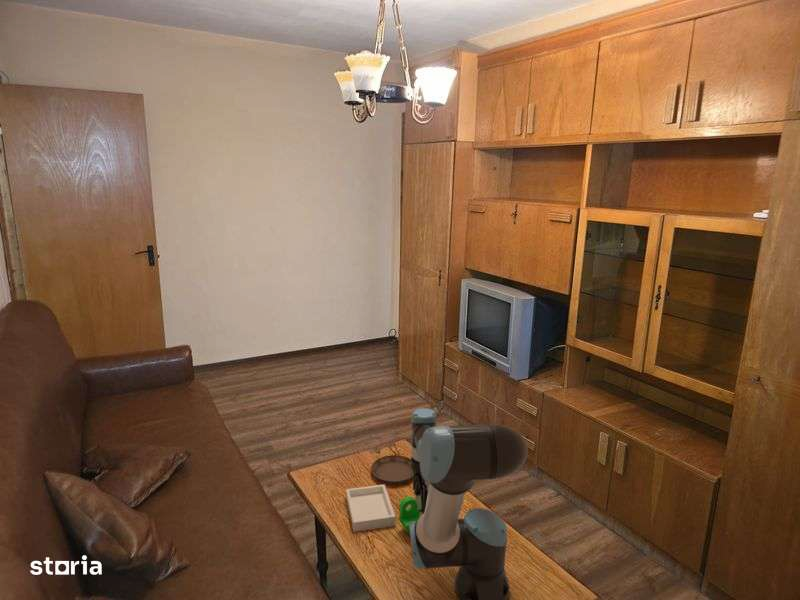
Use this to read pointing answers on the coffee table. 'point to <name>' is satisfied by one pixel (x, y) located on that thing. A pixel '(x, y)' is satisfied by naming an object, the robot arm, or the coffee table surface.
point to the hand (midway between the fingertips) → (421, 519)
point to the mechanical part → (408, 512)
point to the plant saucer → (392, 469)
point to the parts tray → (370, 508)
